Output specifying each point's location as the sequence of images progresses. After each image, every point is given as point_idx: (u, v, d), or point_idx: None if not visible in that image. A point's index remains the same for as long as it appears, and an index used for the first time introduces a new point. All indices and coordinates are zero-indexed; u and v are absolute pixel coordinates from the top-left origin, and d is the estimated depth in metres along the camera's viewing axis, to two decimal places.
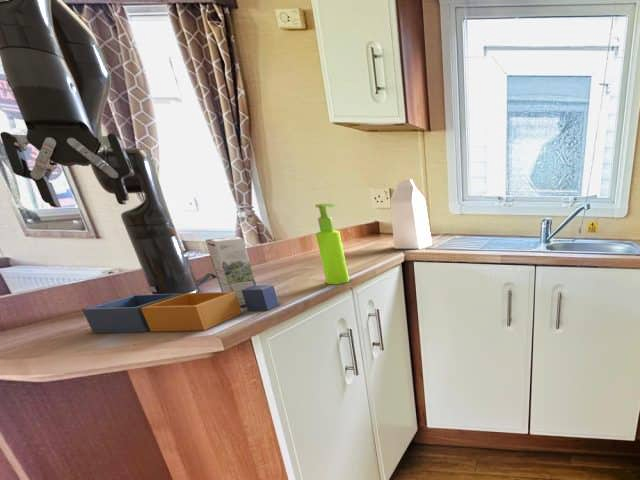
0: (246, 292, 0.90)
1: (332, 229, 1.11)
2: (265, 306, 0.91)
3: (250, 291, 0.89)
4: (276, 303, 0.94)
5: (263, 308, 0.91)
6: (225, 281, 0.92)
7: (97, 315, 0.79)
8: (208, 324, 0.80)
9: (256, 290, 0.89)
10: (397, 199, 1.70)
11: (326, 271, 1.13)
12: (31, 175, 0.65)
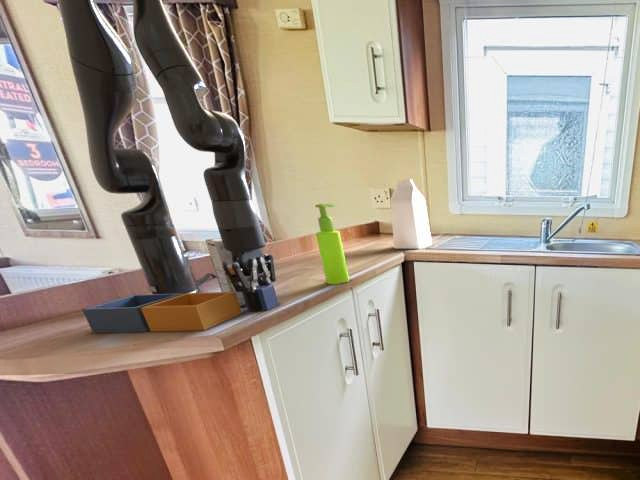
0: None
1: (332, 229, 1.11)
2: (265, 306, 0.91)
3: None
4: (276, 303, 0.94)
5: (263, 308, 0.91)
6: (225, 281, 0.92)
7: (97, 315, 0.79)
8: (208, 324, 0.80)
9: (256, 290, 0.89)
10: (397, 199, 1.70)
11: (326, 271, 1.13)
12: (252, 290, 0.88)
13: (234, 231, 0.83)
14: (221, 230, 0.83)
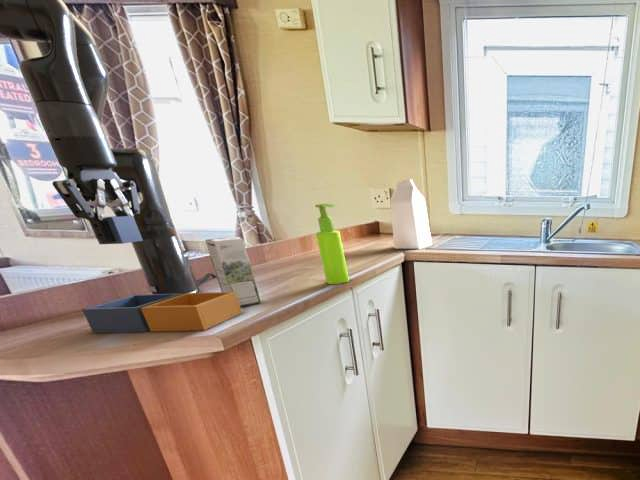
0: None
1: (332, 229, 1.11)
2: (119, 239, 0.77)
3: None
4: (138, 238, 0.80)
5: (117, 241, 0.77)
6: (225, 281, 0.92)
7: (97, 315, 0.79)
8: (208, 324, 0.80)
9: (106, 218, 0.75)
10: (397, 199, 1.70)
11: (326, 271, 1.13)
12: (98, 217, 0.74)
13: (65, 140, 0.69)
14: (50, 140, 0.69)
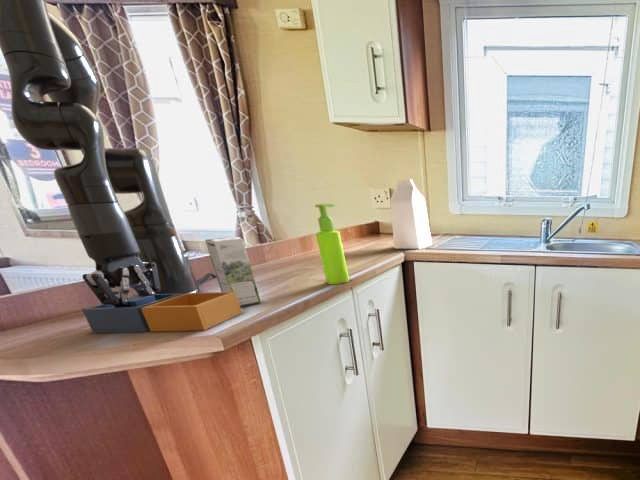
0: None
1: (332, 229, 1.11)
2: None
3: None
4: None
5: None
6: (225, 281, 0.92)
7: (97, 315, 0.79)
8: (208, 324, 0.80)
9: (129, 302, 0.81)
10: (397, 199, 1.70)
11: (326, 271, 1.13)
12: (122, 302, 0.80)
13: (94, 237, 0.75)
14: (81, 236, 0.75)
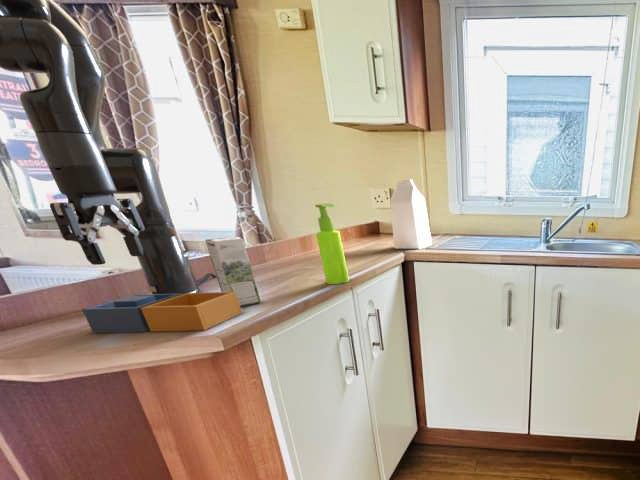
0: (118, 304, 0.81)
1: (332, 229, 1.11)
2: None
3: (122, 302, 0.81)
4: None
5: None
6: (225, 281, 0.92)
7: (97, 315, 0.79)
8: (208, 324, 0.80)
9: (129, 302, 0.81)
10: (397, 199, 1.70)
11: (326, 271, 1.13)
12: (87, 239, 0.73)
13: (66, 170, 0.70)
14: (51, 169, 0.70)
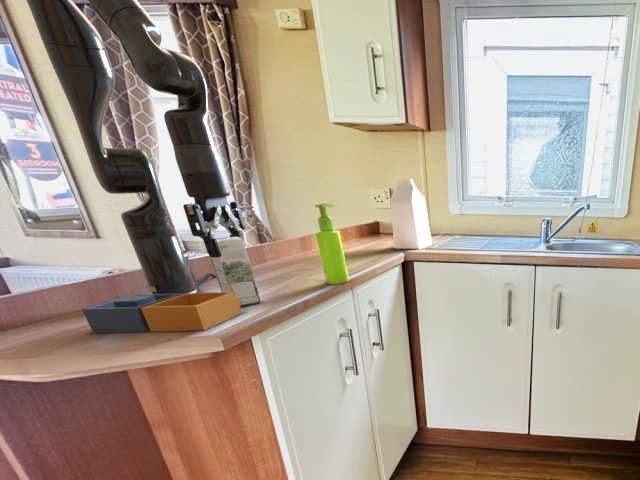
0: (118, 304, 0.81)
1: (332, 229, 1.11)
2: None
3: (122, 302, 0.81)
4: None
5: None
6: (225, 281, 0.92)
7: (97, 315, 0.79)
8: (208, 324, 0.80)
9: (129, 302, 0.81)
10: (397, 199, 1.70)
11: (326, 271, 1.13)
12: (210, 235, 0.86)
13: (196, 176, 0.83)
14: (183, 175, 0.83)
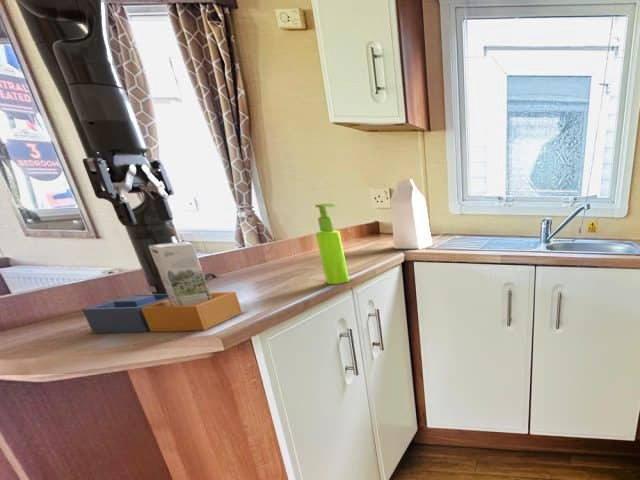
0: (118, 304, 0.81)
1: (332, 229, 1.11)
2: None
3: (122, 302, 0.81)
4: None
5: None
6: (172, 293, 0.79)
7: (97, 315, 0.79)
8: (208, 324, 0.80)
9: (129, 302, 0.81)
10: (397, 199, 1.70)
11: (326, 271, 1.13)
12: (120, 198, 0.71)
13: (99, 124, 0.68)
14: (83, 123, 0.68)
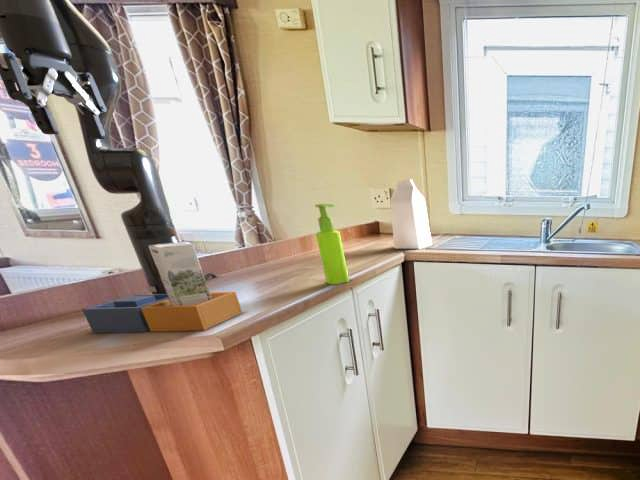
0: (118, 304, 0.81)
1: (332, 229, 1.11)
2: None
3: (122, 302, 0.81)
4: None
5: None
6: (172, 293, 0.79)
7: (97, 315, 0.79)
8: (208, 324, 0.80)
9: (129, 302, 0.81)
10: (397, 199, 1.70)
11: (326, 271, 1.13)
12: (37, 101, 0.67)
13: (11, 18, 0.64)
14: None
